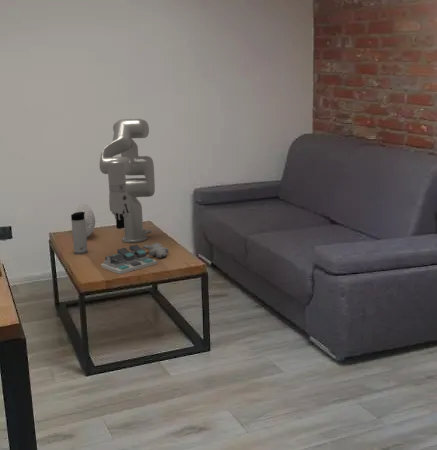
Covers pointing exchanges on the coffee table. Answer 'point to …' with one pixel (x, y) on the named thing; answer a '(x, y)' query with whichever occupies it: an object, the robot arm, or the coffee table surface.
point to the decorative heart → (87, 217)
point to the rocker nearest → (138, 250)
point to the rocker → (114, 256)
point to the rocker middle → (126, 254)
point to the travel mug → (79, 233)
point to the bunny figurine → (157, 250)
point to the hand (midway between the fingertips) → (120, 228)
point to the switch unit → (127, 264)
